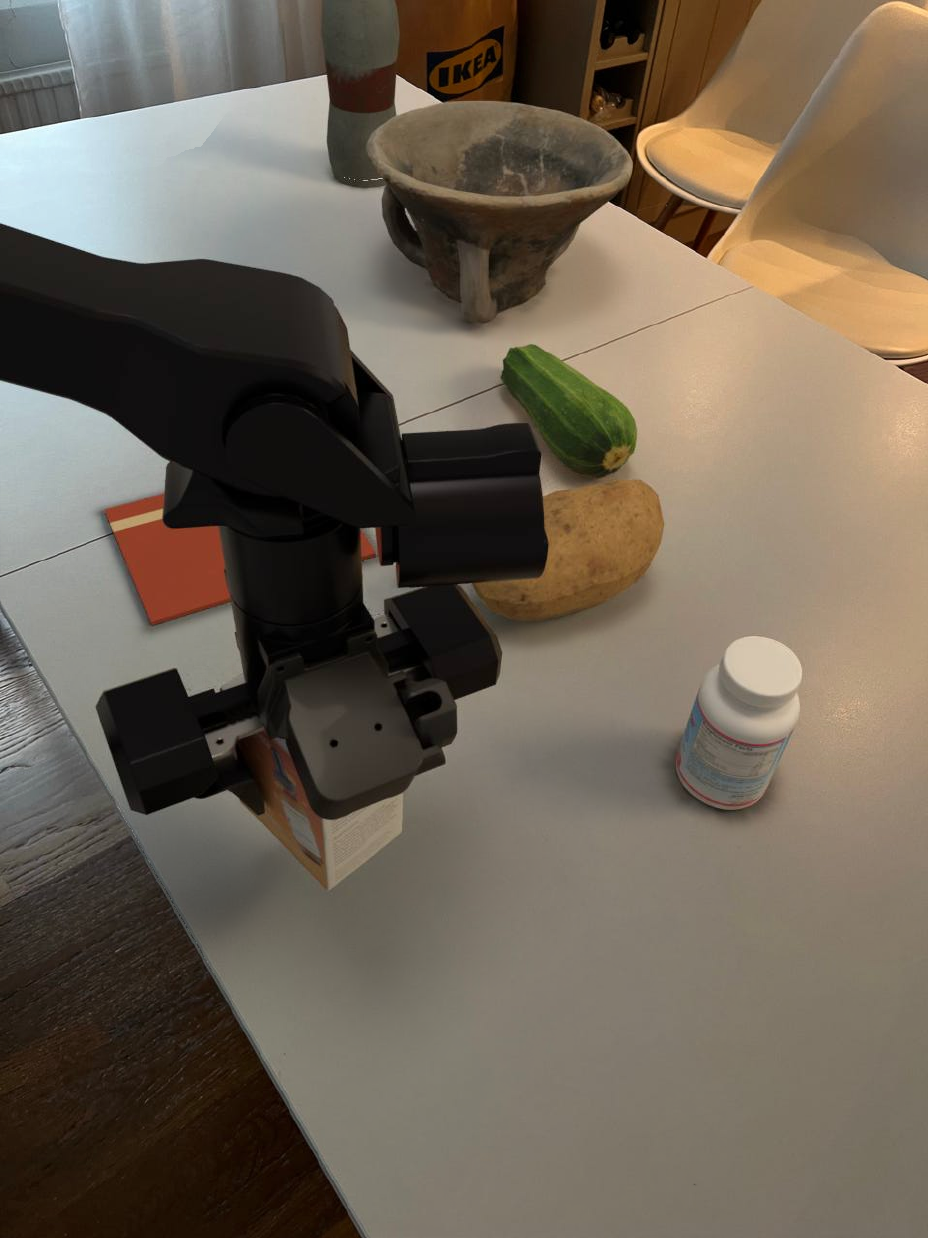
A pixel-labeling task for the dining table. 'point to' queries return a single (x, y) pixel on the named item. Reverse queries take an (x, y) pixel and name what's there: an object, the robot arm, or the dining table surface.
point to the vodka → (358, 81)
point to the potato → (585, 551)
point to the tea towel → (174, 560)
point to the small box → (303, 833)
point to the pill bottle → (740, 723)
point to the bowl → (492, 194)
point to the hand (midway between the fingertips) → (317, 785)
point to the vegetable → (570, 412)
